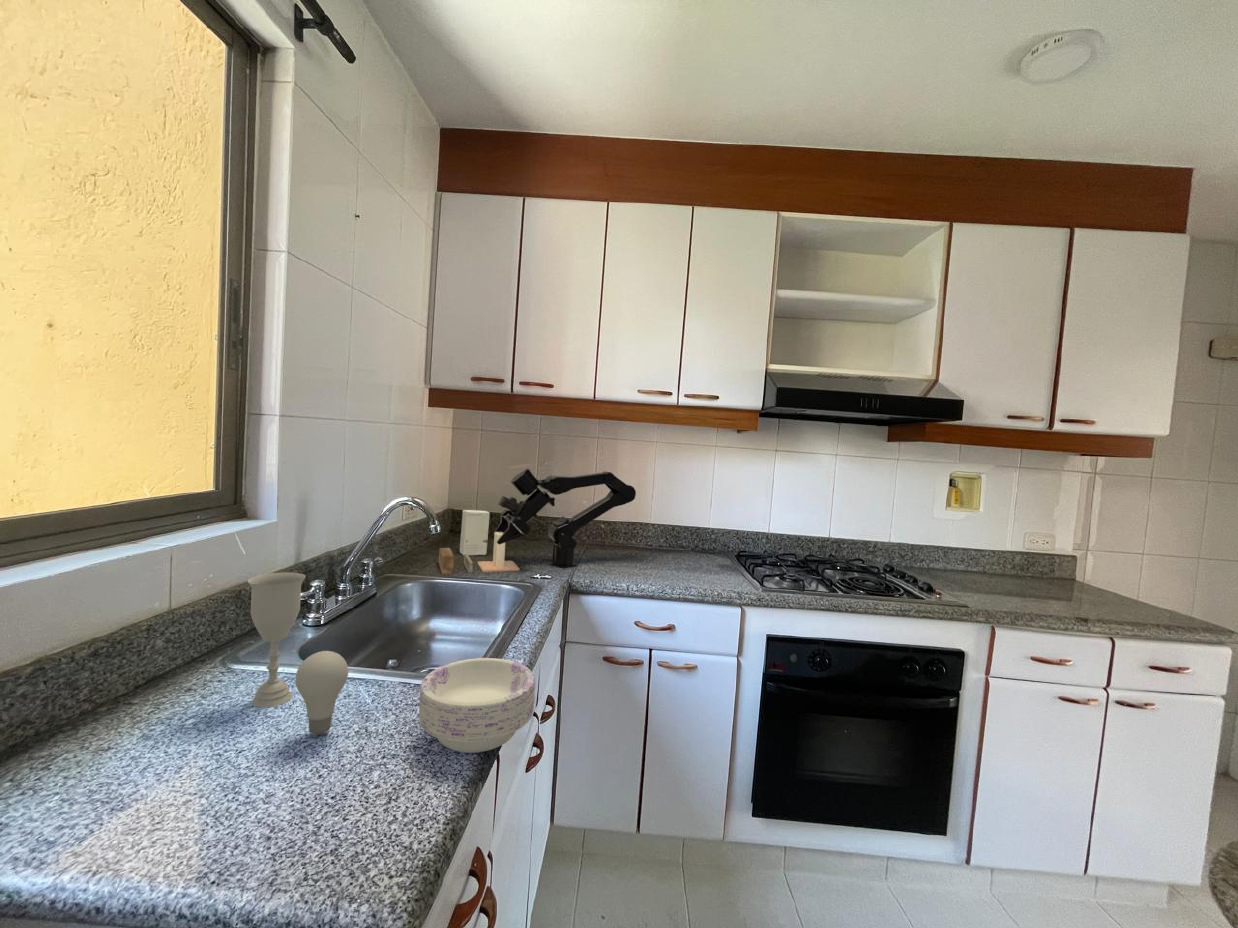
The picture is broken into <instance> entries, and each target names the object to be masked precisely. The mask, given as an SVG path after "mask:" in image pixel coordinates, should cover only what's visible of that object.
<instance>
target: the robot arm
mask: <svg viewBox="0 0 1238 928" xmlns="http://www.w3.org/2000/svg"><path fill="white" fill-rule="evenodd" d="M510 483H511V485H513V487H515V488H514V489H516V490H517V491H518V492H519V493H520V494H521V495H522V496H528V497H526V499H524V500H519V502H518V501H517V498H515V497H513V496H510V497H509V498H508V497H507V496H505V495H502V497H501V498H500V500H499V502H498V504H497V505H499V506H500V507H501V508H504V510H502V511H501V513H500V522H499V524H498V526H497V527H496V528H495V530H494V532H493V533H492V535H491V538H492V539H493V540H494V533H495V532H503V535H502V536H501V537H500V538H499V540H498V541H497V543H498V544H499V545H500V544H502V543H505V544H506V543H508V542H510V541H514V540H515V539H519V538H523V537H524V536H525V537H526V536H528V535H529V533H531V526H530V525H529V524H528V522H529V521H531V520H532V519H533V518H537V516H538V514H539V512H541V510H542V509H544V507H546V505H550V506H551V507H555V505H556V504H555V501H556V498H555V497H554V496H552V497H551V495H549V494H552V495H555V496H558V495H562V494H564V493H567V492H570V491H572V490H574V489H579V488H586V487H593V486H599V485H605V486H606V487H607V489H608V490H609V492H608V493H607V495H606V496H605V497H604V498H601V499H600V500H598V501H597V502H595V503H593V504H592V505H590V506H589V507H586V509H583V510H582V511H580V512H579V513H577V514H575V515H574V516H572V517H570V518H567V517H565V516H561V517H559V518H558V519H557V520H555V521H552V522H551V523H552V524H551V525H550V526H549V527H548V531H547V533H548V538H550V539H551V540H552V542H553V549H552V562H549V563H548V564H549V565H551V566H555V567H559V568H563V569H564V568H569V567H573V566H574V567H575V566H577V563H575V562H574V554H575V549H576V546H577V541H576V540H575V539H574V536H575V535H576V533H577V532H578V531H579V530H580V529H581V528H582V527H585V526H586V525H588V524H589V523H590V522H592V521H594V520H596V519H597V518H598V517H600V516H602V515H604V514H605V513H606V512H608V511H610V510H612V509H614V508H617V507H619V506H620V507H621V506H624V505H625V504H629V503H631V502H633V501H634V500H635V499H636V496H637V495H636V494H637V491H636V489H635V487H633V486H632V485H628V484H626V483H625V481H622V480H621V479H620V478H618V477H617V476H615V474H613V472H610V471H605V470H604V471H602V472H596V473H589V474H582V475H581V474H580V475H574V476H568V475H567V476H566V475H563V476H562V475H549V476H547V477H545V479H537V478H536V477H535V475H534V474H533V473H532V472H531V470H530V469H529V468H525V469H524V470H523V471H520V472H519V474H518V473H517V474H516V475H515V476H514V477H513V478H512V480H510ZM540 488H541V489H543V490H544V491H542V490H541V489H540ZM548 493H549V494H548Z"/></svg>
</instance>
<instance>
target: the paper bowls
mask: <svg viewBox="0 0 1238 928" xmlns="http://www.w3.org/2000/svg"><path fill="white" fill-rule="evenodd" d="M535 690H536V679H535V674H534V673H533V672H532V670H530V669H529V668H528V667H527V666H525V665H524V664H522V663H521V662H516V661H514V660H509V659H503V658H496V657H495V658H494V657H493V658H492V657H478V658H470V659H469V658H468V659H463V660H458V661H454V662H450V663H447V664H444V665H441V666H440V667H439V666H438V667H437V668H436V669H434V670H431V671H430V672H429V673H428V674H427V675H425V677H424V678H423V679H422V681H421V683H420V685H419V700H418V701H419V703H418V708H419V709H418V712H419V713H418V718H419V723H420V726H421V728H422V729H423V730H424V731H425V732H426V734H429V735H430V736H431V737H434V738H436V739H437V740H438V742H439V743H440V744H441V745H443V746H444V747H445V748H447V749H448V750H449V749H450V750H451V751H454V752H458V753H467V754H473V753H474V754H475V753H484V752H487V751H488V752H489V751H491V750H495V749H497V748H499V747H501V746H503V745H505V744H506V743H507V742H508V741H510V740H511V739H512V737H514V735H515V734H516V732H517V731H518V730H520V729H522V728H523V727H524V726H525V725H526V724H528V723H529V721H530V720H531V719H532V717H533V714H534V710H535V699H536V698H535V692H536V691H535Z"/></svg>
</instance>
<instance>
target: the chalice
mask: <svg viewBox="0 0 1238 928" xmlns="http://www.w3.org/2000/svg"><path fill="white" fill-rule="evenodd" d="M305 579H306V575H305V574H303V573H300V572H272V573H264V574H259V575H255V576H252V577H250V578H248V579H247V583H248V584H249V586H250V588H251V595H250V597H251V599H250V616H251V619H252V622H253V624H254V627H255V628H256V631H257V632H258V634H259V636H260V637H261V638H262V641H264V642H268V643H269V644H270V645H269V646H270V648H269V652H268V654H267V657H268V658H269V663H268V665H267V666H266V667H265V668H266V670H268V672H269V676H268V679H266V680H265V682H262V683H261V685H259V687H258V688H257V691H255V694H254V697H253V699H252V700H251V703H250V704H251V705H252V706H254V707H256V708H272V707H276V706H279V705H283V704H285V703H287V702H289V701H290V700H291V699H292V698H293V694H292V693H291V691H290V687H288V684H287V682H286V681H284V680H282V679H280V678H279V676H278V671H279V669H280V668H281V664H280V663H279V656H280V655H281V652H280V649H279V643H280V641H282V640H284V639H286V637H287V636H288V635H289V633H290V631H291V629H292V627H294V624H295V622H296V620H297V617H298V615H299V613H300V611H301V599H302V598H301V594H302V584H303V582H304V581H305Z"/></svg>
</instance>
